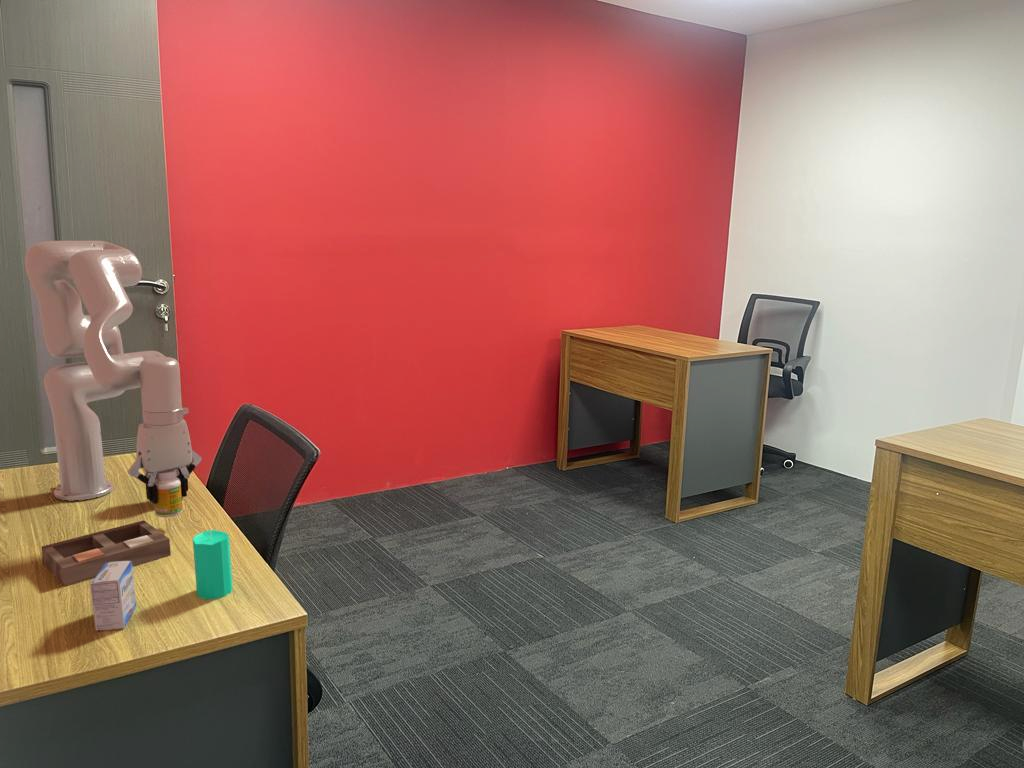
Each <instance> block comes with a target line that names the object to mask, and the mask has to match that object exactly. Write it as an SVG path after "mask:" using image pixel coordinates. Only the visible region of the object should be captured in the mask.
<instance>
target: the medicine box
mask: <svg viewBox="0 0 1024 768" xmlns="http://www.w3.org/2000/svg"><path fill="white" fill-rule="evenodd" d="M133 567H134V566H132V561H116V562H109V563H105V564H104V566H103V567H102V569H101V570H100V572H99V573H98V574H97V576H96V577H94V578H93V579H92V582H91V583H90V585H89V586H90V595H91V601H92V603H91V604H92V611H93V618H94V619H93V620H94V627H95V631H96V632H102V631H101V630H105V631H113V630H112V629H116V630H122V629H121V628H124V629H125V627H126V626H127V624H128V622H129V620H130V619H131V616H132V615H133V613H134V611H135V609H136V608H137V597H136V588H135V577H134V568H133ZM98 630H100V631H98Z"/></svg>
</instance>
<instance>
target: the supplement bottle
mask: <svg viewBox="0 0 1024 768" xmlns="http://www.w3.org/2000/svg"><path fill="white" fill-rule="evenodd" d="M176 476H177V471H176V468H175V469H170V470H165V471H160V472H157V475H156V478H157V479H156V480H155V482H154V484H155V485H156V486H157V495H158V503H156V504H155V505H154V515H155V516H157V517H159V518H173V517H177V516H178V515H181V514H182V512H183V502H182V493H181V481H180V479H179V478H177V477H176Z"/></svg>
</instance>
